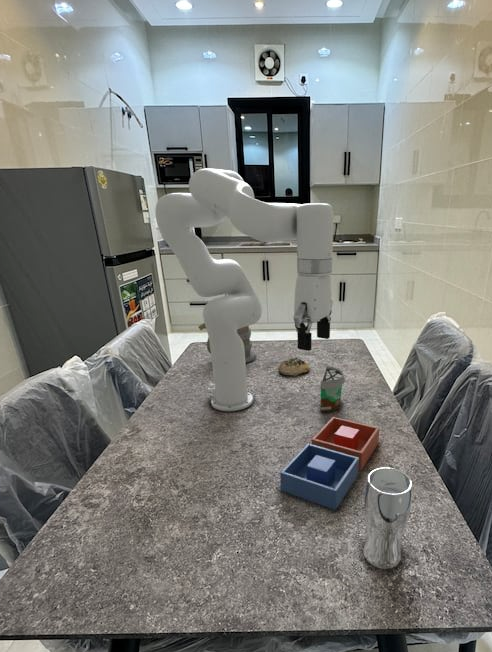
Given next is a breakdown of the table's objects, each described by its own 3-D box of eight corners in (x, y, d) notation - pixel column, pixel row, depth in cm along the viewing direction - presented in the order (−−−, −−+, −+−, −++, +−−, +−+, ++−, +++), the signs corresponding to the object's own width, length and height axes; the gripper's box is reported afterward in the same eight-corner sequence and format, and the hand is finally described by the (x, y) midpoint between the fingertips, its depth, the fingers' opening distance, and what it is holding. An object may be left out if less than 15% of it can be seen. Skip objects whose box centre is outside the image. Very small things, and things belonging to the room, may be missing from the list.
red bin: (311, 455, 90) (311, 439, 88) (332, 431, 99) (333, 416, 98) (361, 470, 84) (362, 453, 82) (378, 443, 94) (379, 427, 92)
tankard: (254, 353, 157) (252, 317, 151) (253, 363, 146) (250, 325, 140) (205, 354, 156) (201, 318, 150) (200, 365, 145) (195, 327, 139)
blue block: (306, 483, 80) (306, 465, 78) (316, 472, 83) (316, 454, 81) (326, 490, 78) (326, 472, 76) (335, 478, 81) (335, 460, 79)
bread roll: (290, 362, 146) (291, 350, 144) (314, 371, 141) (315, 359, 138) (271, 372, 138) (272, 359, 136) (296, 383, 133) (297, 370, 130)
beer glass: (356, 539, 66) (361, 467, 60) (395, 536, 67) (404, 465, 61) (366, 573, 60) (373, 497, 54) (410, 570, 61) (421, 494, 54)
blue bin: (280, 490, 78) (280, 472, 77) (307, 459, 88) (307, 443, 86) (335, 510, 73) (336, 491, 71) (358, 475, 83) (359, 457, 81)
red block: (333, 450, 91) (334, 433, 89) (341, 441, 94) (341, 425, 93) (351, 455, 89) (352, 438, 87) (358, 445, 92) (359, 429, 90)
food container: (341, 416, 107) (343, 383, 103) (320, 414, 108) (320, 381, 104) (345, 397, 118) (346, 367, 114) (325, 395, 119) (326, 365, 115)
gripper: (316, 262, 91) (316, 332, 97) (278, 271, 77) (281, 352, 84) (346, 263, 87) (343, 336, 94) (312, 273, 73) (312, 357, 80)
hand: (314, 343), depth 89 cm, fingers open, 9 cm apart
